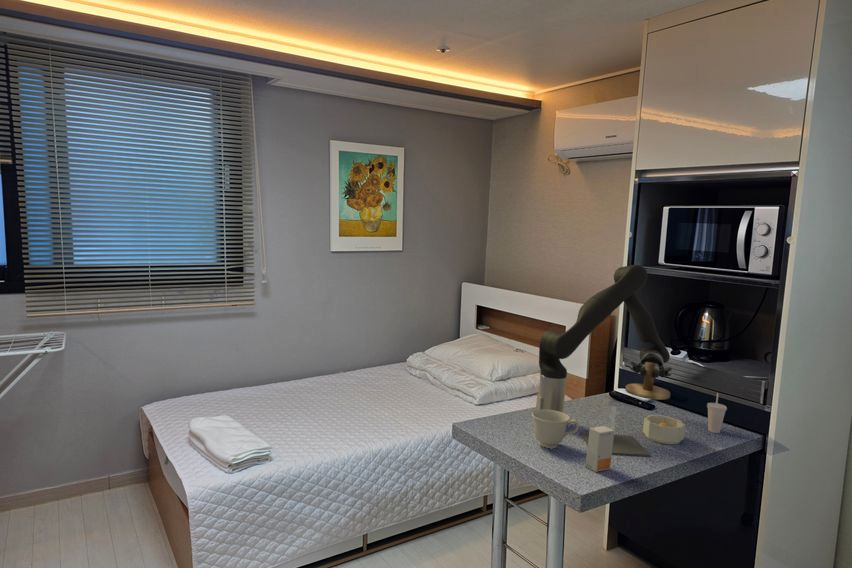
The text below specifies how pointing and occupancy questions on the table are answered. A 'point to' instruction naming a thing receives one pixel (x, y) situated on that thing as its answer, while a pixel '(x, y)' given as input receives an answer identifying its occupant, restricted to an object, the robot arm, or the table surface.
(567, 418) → the teacup
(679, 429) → the bowl
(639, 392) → the lid
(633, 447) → the mat
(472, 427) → the table surface
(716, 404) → the smoothie
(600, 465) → the skincare box
